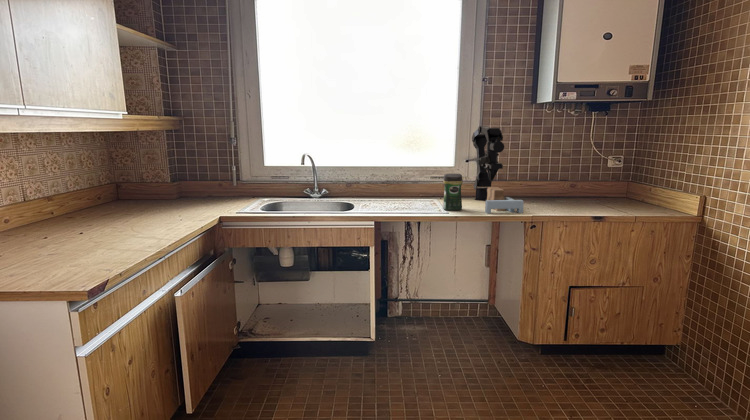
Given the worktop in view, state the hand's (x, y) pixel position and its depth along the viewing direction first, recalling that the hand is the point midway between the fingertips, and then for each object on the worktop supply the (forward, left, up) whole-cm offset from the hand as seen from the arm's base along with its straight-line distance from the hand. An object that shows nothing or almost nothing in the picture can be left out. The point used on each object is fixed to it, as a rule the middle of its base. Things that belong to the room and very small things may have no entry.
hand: (491, 180), depth 237 cm
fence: (+9, -16, -13) cm, 22 cm away
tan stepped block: (+5, -9, -13) cm, 17 cm away
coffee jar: (-14, -23, -13) cm, 30 cm away
